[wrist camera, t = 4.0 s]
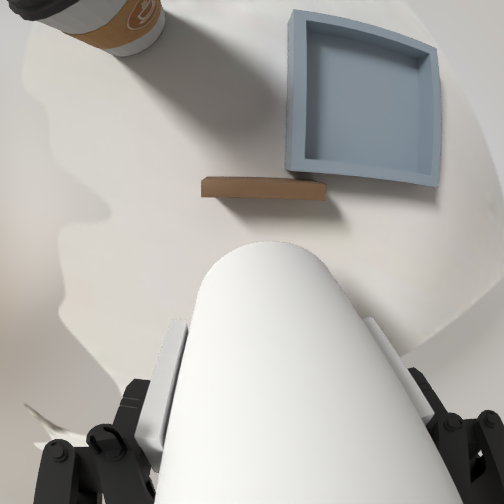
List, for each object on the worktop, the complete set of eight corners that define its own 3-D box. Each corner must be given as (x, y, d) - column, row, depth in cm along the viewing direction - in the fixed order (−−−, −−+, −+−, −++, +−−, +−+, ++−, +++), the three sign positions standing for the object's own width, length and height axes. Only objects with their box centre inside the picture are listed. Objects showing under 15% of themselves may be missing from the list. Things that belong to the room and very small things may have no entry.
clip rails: (207, 176, 23) (201, 180, 20) (312, 179, 24) (326, 184, 20) (210, 323, 28) (207, 348, 24) (299, 323, 29) (306, 347, 25)
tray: (287, 23, 19) (293, 9, 16) (420, 55, 20) (436, 48, 17) (284, 169, 23) (290, 170, 21) (420, 183, 24) (437, 187, 21)
